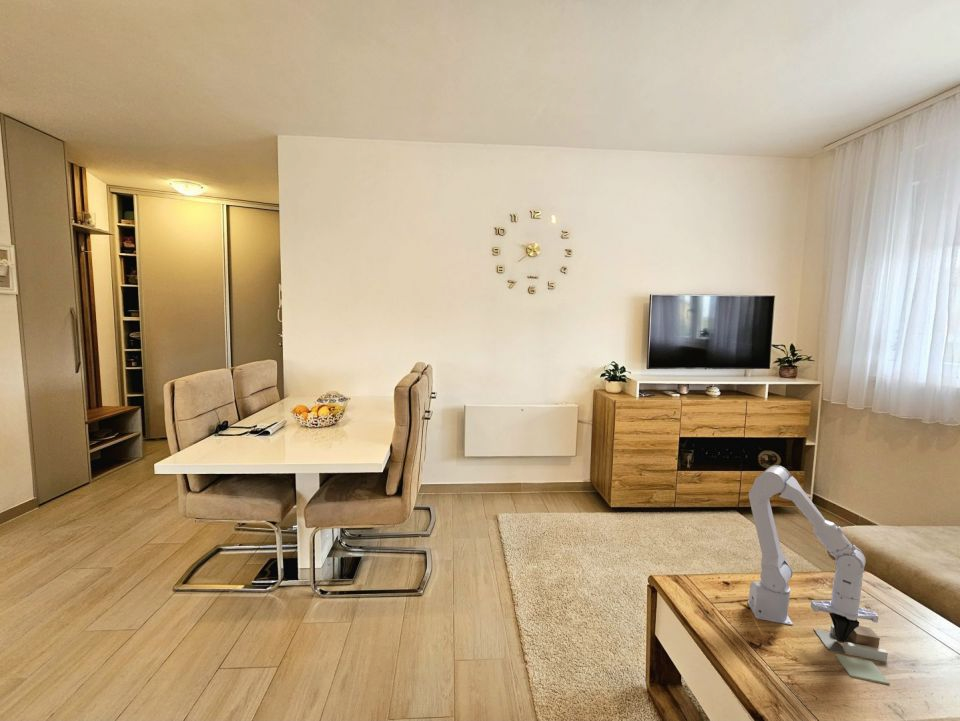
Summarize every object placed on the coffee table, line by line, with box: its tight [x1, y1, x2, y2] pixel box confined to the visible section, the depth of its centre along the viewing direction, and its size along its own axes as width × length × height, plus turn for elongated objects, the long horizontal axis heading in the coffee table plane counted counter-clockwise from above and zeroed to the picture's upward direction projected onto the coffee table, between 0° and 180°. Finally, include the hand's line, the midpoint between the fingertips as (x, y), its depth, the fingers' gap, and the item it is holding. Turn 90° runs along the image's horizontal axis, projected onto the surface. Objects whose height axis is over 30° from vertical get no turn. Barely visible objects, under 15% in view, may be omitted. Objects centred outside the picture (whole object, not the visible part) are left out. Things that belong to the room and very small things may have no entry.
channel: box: [813, 624, 889, 663], centre depth 117 cm, size 13×8×2 cm, turn 75°
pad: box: [834, 653, 890, 686], centre depth 109 cm, size 8×7×1 cm
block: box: [846, 625, 881, 648], centre depth 116 cm, size 5×4×5 cm
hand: (840, 639), depth 118 cm, fingers closed
